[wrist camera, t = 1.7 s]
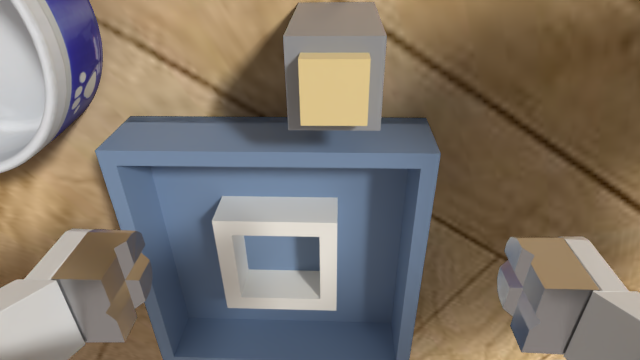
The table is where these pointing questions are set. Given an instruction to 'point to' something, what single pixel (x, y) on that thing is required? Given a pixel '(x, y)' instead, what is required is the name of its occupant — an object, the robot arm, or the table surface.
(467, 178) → the table surface
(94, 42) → the dog bowl
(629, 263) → the table surface
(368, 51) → the connector plug
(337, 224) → the walled tray
